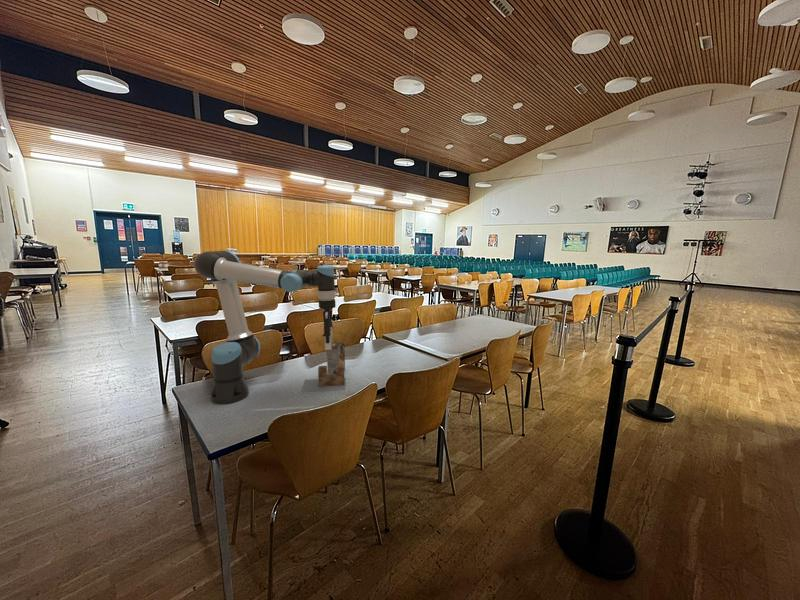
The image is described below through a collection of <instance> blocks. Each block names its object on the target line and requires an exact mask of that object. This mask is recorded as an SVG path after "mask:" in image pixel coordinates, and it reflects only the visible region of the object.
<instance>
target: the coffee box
mask: <svg viewBox="0 0 800 600" xmlns="http://www.w3.org/2000/svg"><path fill="white" fill-rule="evenodd" d="M345 347H346V346H345V342H338V341H337V342H336V341H335V342H334V341H333V347H332V352H326V362H327V363H326V364H327V365H326V366H327V375H329V374H336V365H344V371H345V370H346V355H345V353H346V352H345Z"/></svg>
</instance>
